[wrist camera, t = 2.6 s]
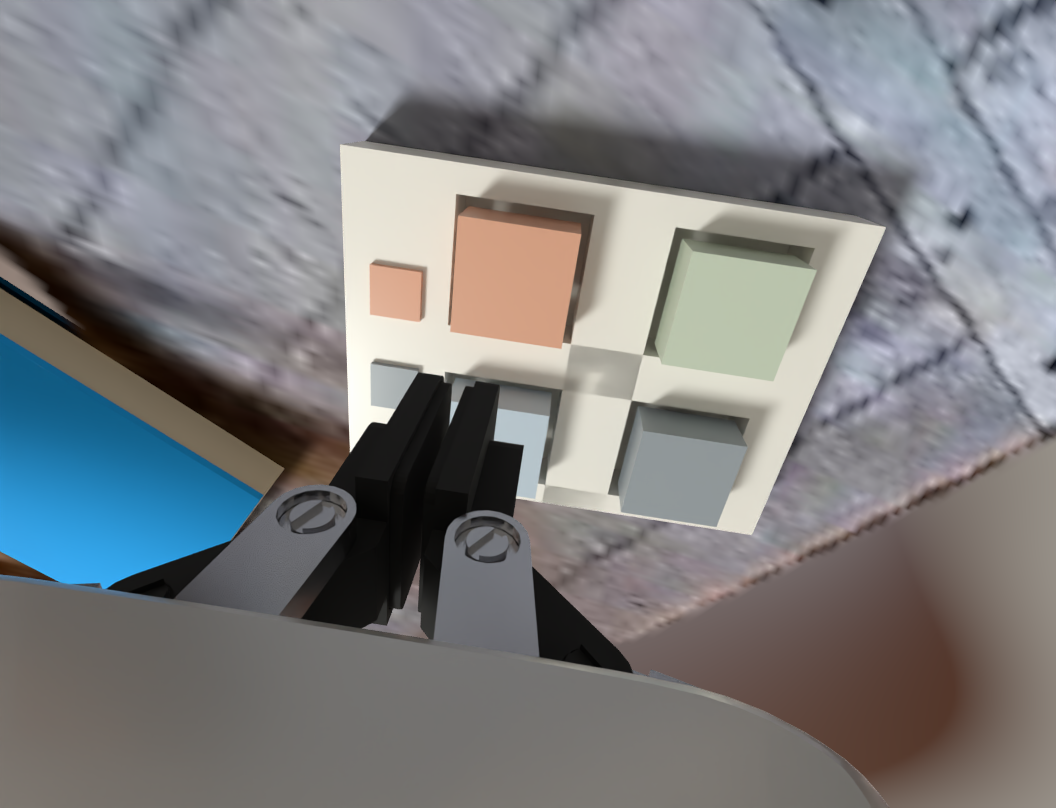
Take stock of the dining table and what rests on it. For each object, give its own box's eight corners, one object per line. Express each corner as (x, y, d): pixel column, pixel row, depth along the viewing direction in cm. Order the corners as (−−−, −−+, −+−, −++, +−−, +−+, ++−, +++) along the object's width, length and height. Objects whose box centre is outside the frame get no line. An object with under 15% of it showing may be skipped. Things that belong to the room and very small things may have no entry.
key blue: (551, 392, 28) (549, 416, 26) (538, 471, 30) (535, 498, 28) (455, 377, 28) (445, 400, 26) (450, 457, 30) (440, 484, 28)
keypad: (853, 215, 25) (889, 228, 22) (738, 501, 33) (753, 538, 30) (364, 141, 25) (337, 144, 22) (368, 444, 33) (348, 475, 31)
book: (-213, 211, 26) (258, 500, 31) (-110, 199, 29) (293, 459, 35) (-231, 442, 33) (157, 643, 38) (-146, 408, 36) (195, 596, 42)
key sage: (794, 255, 24) (816, 270, 22) (757, 358, 26) (773, 381, 24) (682, 238, 24) (692, 251, 22) (654, 343, 26) (661, 364, 24)
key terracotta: (580, 222, 24) (581, 234, 22) (562, 329, 26) (561, 349, 24) (468, 206, 24) (457, 215, 22) (460, 313, 26) (450, 331, 24)
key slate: (734, 420, 28) (747, 447, 26) (706, 496, 30) (716, 527, 28) (638, 405, 28) (643, 430, 26) (617, 483, 30) (620, 512, 28)
